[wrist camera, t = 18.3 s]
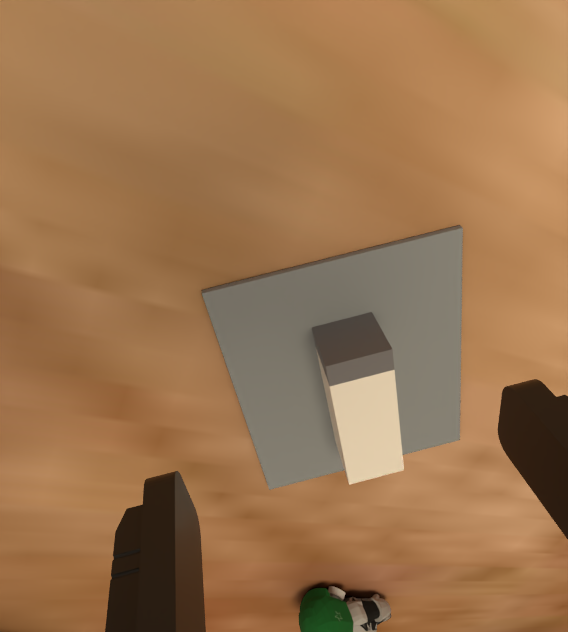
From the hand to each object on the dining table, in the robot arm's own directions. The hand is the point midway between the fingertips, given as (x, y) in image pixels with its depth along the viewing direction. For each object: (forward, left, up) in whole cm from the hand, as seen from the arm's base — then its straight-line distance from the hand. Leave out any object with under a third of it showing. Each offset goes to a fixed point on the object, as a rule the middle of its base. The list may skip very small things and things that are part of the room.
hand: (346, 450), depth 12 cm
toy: (-1, -59, -25) cm, 64 cm away
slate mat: (+4, -21, -25) cm, 32 cm away
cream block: (+4, -28, -22) cm, 36 cm away
